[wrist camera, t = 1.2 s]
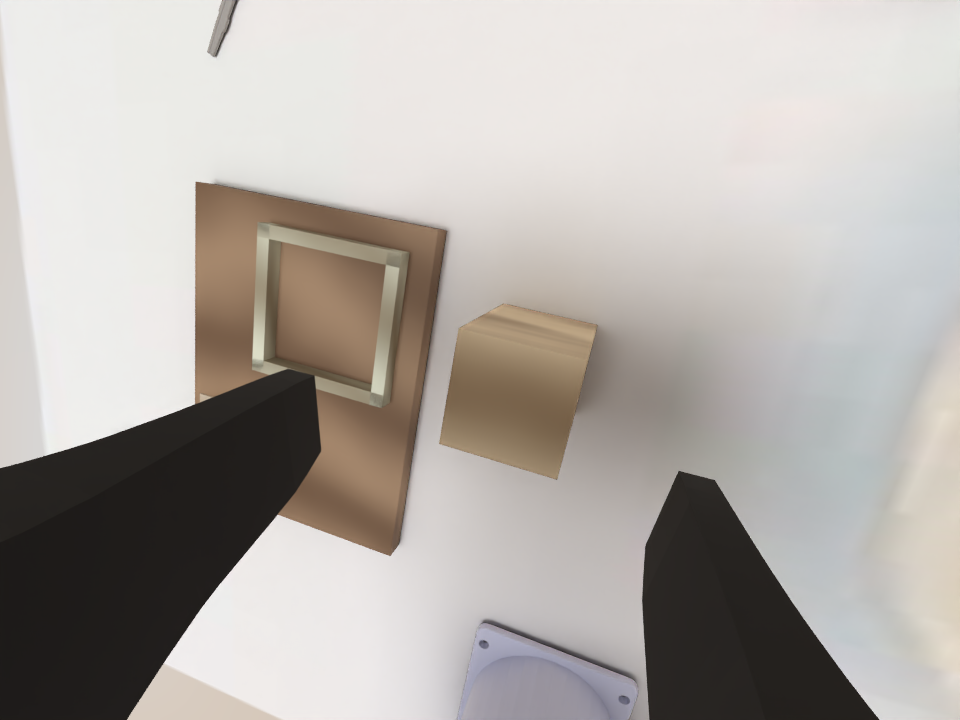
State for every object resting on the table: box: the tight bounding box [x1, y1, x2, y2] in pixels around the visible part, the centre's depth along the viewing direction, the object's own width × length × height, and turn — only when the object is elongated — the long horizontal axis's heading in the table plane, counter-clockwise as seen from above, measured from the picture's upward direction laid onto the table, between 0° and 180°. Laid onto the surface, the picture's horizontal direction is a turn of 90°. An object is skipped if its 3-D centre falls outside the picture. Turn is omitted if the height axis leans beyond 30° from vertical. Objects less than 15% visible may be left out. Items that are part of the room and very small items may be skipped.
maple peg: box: [439, 304, 597, 480], centre depth 18 cm, size 4×4×6 cm
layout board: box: [195, 182, 447, 556], centre depth 21 cm, size 16×12×7 cm
